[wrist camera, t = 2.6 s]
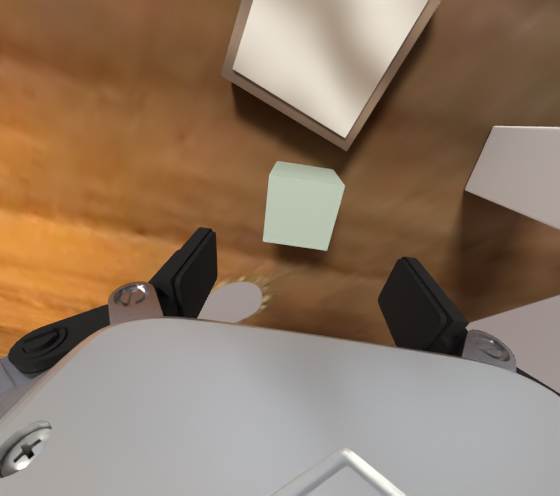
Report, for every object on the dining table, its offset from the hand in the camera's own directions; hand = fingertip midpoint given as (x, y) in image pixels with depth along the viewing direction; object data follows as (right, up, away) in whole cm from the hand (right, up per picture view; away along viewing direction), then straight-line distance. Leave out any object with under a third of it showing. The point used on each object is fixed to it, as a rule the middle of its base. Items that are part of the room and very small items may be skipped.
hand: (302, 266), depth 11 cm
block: (+1, +7, +13) cm, 15 cm away
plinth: (+2, +18, +7) cm, 19 cm away
